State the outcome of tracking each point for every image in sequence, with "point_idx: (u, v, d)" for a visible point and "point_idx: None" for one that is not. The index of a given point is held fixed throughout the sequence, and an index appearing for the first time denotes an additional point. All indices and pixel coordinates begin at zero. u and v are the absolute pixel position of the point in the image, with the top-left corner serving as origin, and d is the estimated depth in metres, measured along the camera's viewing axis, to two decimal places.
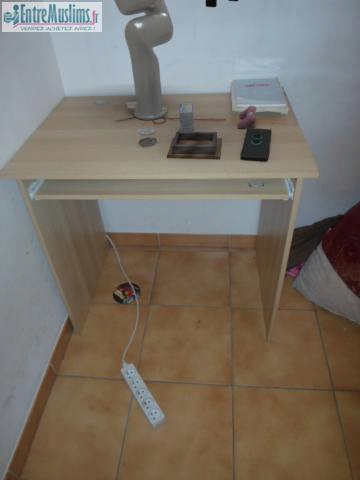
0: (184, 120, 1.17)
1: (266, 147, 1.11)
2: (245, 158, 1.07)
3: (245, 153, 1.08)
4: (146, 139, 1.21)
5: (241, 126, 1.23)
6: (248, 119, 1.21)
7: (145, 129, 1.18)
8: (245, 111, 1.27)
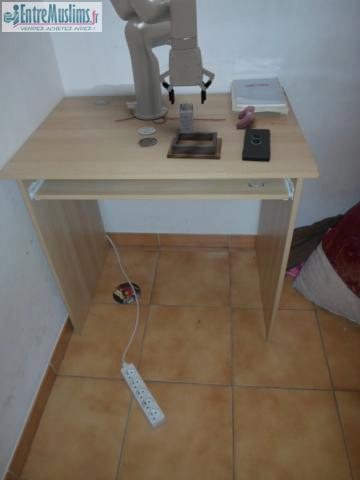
0: (184, 120, 1.17)
1: (267, 146, 1.11)
2: (247, 158, 1.07)
3: (247, 153, 1.08)
4: (146, 139, 1.21)
5: (239, 126, 1.23)
6: (247, 119, 1.21)
7: (145, 129, 1.18)
8: (244, 111, 1.28)
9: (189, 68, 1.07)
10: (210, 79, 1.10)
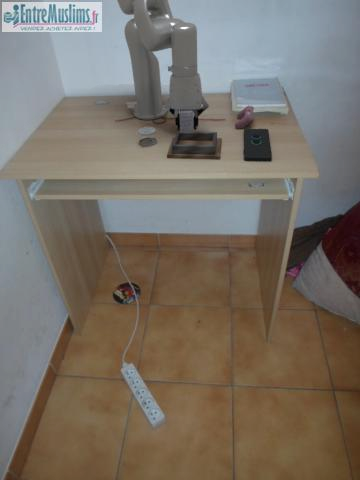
0: (184, 120, 1.16)
1: (268, 146, 1.11)
2: (249, 159, 1.06)
3: (248, 154, 1.08)
4: (146, 139, 1.21)
5: (238, 126, 1.23)
6: (245, 119, 1.21)
7: (145, 129, 1.18)
8: (243, 111, 1.28)
9: (189, 94, 1.12)
10: (203, 108, 1.17)
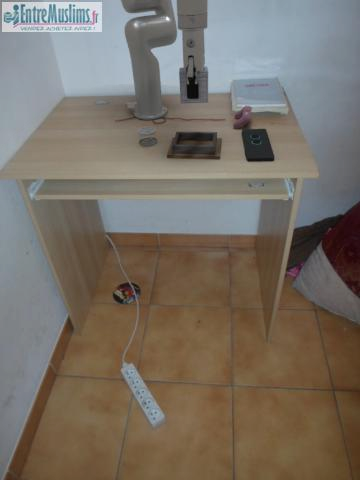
0: None
1: (269, 146, 1.11)
2: (252, 159, 1.06)
3: (251, 154, 1.07)
4: (146, 139, 1.21)
5: (236, 126, 1.23)
6: (244, 119, 1.21)
7: (145, 129, 1.18)
8: (241, 111, 1.28)
9: None
10: None
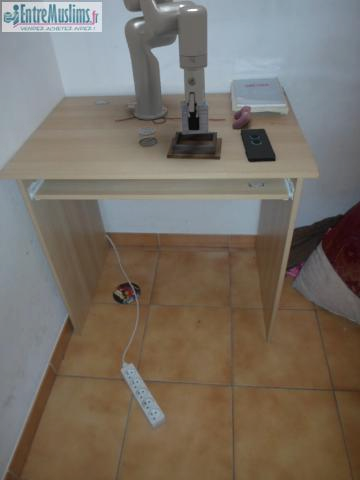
0: None
1: (269, 146, 1.11)
2: (254, 159, 1.06)
3: (252, 154, 1.07)
4: (146, 139, 1.21)
5: (236, 126, 1.23)
6: (243, 119, 1.21)
7: (145, 129, 1.18)
8: (240, 111, 1.28)
9: (204, 82, 1.02)
10: None
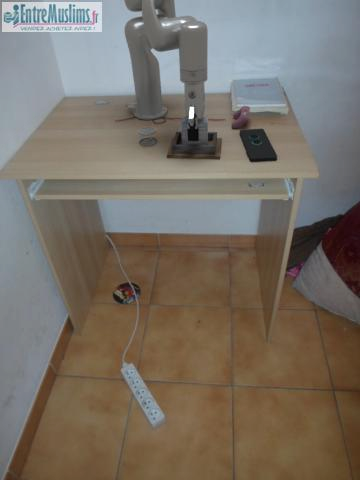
0: None
1: (269, 146, 1.11)
2: (255, 160, 1.06)
3: (253, 154, 1.07)
4: (146, 139, 1.21)
5: (235, 126, 1.23)
6: (242, 119, 1.21)
7: (145, 129, 1.18)
8: (239, 111, 1.28)
9: (204, 95, 1.04)
10: None
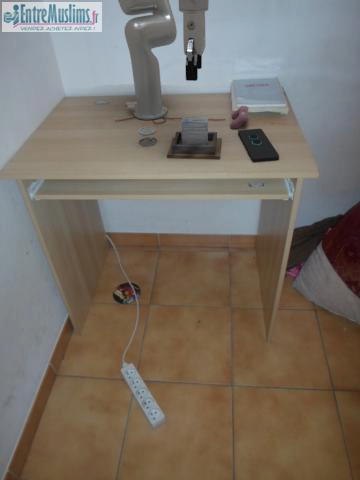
0: None
1: (270, 145, 1.11)
2: (258, 160, 1.06)
3: (255, 155, 1.07)
4: (146, 139, 1.21)
5: (233, 126, 1.23)
6: (240, 119, 1.21)
7: (145, 129, 1.18)
8: (237, 111, 1.28)
9: None
10: None
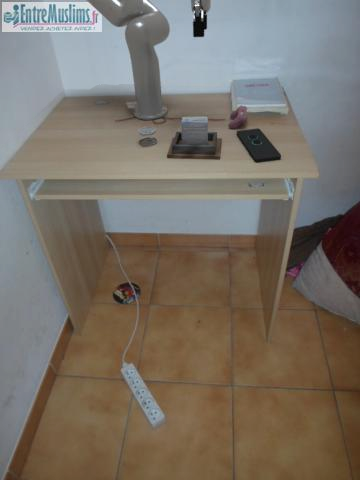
0: None
1: (270, 145, 1.11)
2: (260, 160, 1.06)
3: (257, 155, 1.07)
4: (146, 139, 1.21)
5: (232, 126, 1.23)
6: (239, 119, 1.21)
7: (145, 129, 1.18)
8: (236, 111, 1.28)
9: None
10: None
